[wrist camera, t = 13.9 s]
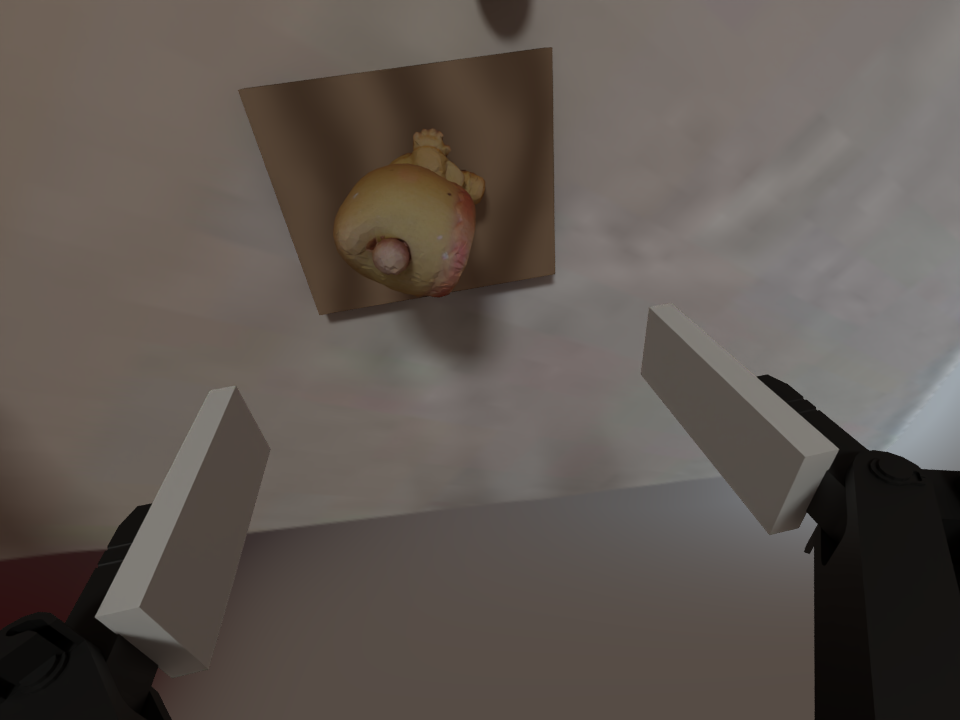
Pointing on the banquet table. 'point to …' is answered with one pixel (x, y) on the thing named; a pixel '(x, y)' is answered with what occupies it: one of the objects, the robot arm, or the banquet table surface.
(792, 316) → the banquet table surface
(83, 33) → the banquet table surface
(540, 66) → the board
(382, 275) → the figurine
